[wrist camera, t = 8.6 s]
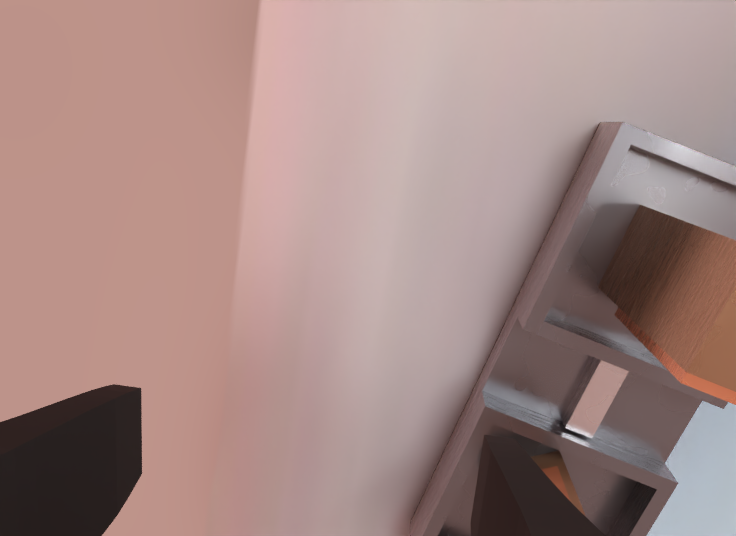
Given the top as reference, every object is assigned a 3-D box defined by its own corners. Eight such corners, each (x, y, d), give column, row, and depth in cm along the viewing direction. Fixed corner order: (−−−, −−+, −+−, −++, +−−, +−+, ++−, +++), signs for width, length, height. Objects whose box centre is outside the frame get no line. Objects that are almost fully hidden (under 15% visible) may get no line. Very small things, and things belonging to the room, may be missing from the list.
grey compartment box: (795, 199, 19) (1047, 250, 12) (569, 586, 24) (639, 815, 16) (600, 122, 19) (717, 120, 12) (410, 522, 24) (400, 719, 16)
